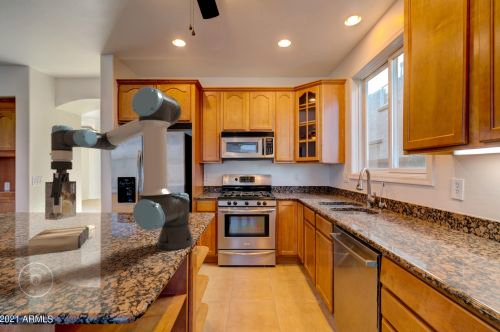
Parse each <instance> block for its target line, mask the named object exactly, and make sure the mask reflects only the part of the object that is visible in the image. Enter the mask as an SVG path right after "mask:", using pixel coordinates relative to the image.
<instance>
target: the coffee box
mask: <svg viewBox="0 0 500 332" xmlns="http://www.w3.org/2000/svg"><path fill="white" fill-rule="evenodd" d="M44 183H45V187H44V194H45V196H44V203H45V204H44V214H45V215H44V220H45V221H46V220H49V221H51V220H52V221H58V220H63V219H64V220H65V219H67V218H72V217H76V216H77V181H76V180H74V181H71V180H69V181H65V182H64V183H62V182H61V183H62V192H61V197H62V198H61V213H53V198H50V196H51V192H52V184H53V181H46V182H45V181H44Z"/></svg>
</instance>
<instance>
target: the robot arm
mask: <svg viewBox="0 0 500 332" xmlns="http://www.w3.org/2000/svg"><path fill="white" fill-rule="evenodd" d="M131 109H132V111H133V112H134V113H135V114H136V115H138V118H136V119H134V120H131V121H128V122H126V123H124V124H122V125H119V126H117V127H115V128H113V129H111V130H109V131H107V132H102V133H101V132H95V131H93V130H92V129H87V128H86V129H84V128H82V129H74V128H73V127H72V126H69V125H64V124H63V125H62V124H60V125H58V124H57V125H56V124H55V125H52V127H51V133H50V144H51V145H50V148H51V150H50V152H49V156H50V160H52V161H51V162H50V170H53V171H55V172H53V174H52V182H53V184H52V192H51V196H50V198H53V213H61V198H62V197H61V192H62V183H64V182H65V181H70V172H68V171H71V170H73V162H72V161H73V160H74V158H73V154H74V153H73V152H74V150H73V148H84V149H97V150H103V151H104V150H105V151H115V150H116V149H118V147H119V146H120V145H121V144H124V143H126V142H129V141H131V140H133V139H135V138H138V137H140V136H142V141H143V142H142V143H143V145H142V146H143V149H142V150H143V190H142V191H141V192H140V193H139V201H137V202H136V204H135V205H134V206H133V210H132V215H133V220H134V222H135V224H137V225H138V226H139V227H140V228H141V229H143V230H147V231H152V230H153V231H154V230H158V229H160V232H159V235H158V237H157V238H158V239H157V241H156V243H157V244H156V247H157V248H158V249H160V250H166V251H167V250H168V251H171V250H172V251H173V250H174V251H175V250H180V249H185V248H189V247H191V246H192V245H193V244H194V237H193V233H192V231H191V229H190V198H189V197H190V196H189V194H188V193H186V192H172V191H171V190H170V189H169V188H168V146H167V143H168V141H167V139H168V138H167V136H168V135H167V130H168V128H169V127H171V126H173V125H175V124H176V123H177V122H178V121H179V120H180V118H181V116H182V106H181V104H180V103H179V102H178V100H177V99H176V98H174V97H172V96H170V95H168V94H167V93H164V92H163V91H161V90H160V89H158V88H154V87H151V86H144V87H142V88H140V89H138V90H137V91H136V93H134V95H133V96H132V99H131ZM61 182H62V183H61Z"/></svg>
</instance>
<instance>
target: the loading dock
mask: <svg viewBox="0 0 500 332" xmlns="http://www.w3.org/2000/svg"><path fill="white" fill-rule="evenodd" d="M89 231H90V227H89V226H87V225H83V226H72V227H61V228H60V227H59V228H50V229H44V230H42V231H41V232H39V233H37V234H35V235H34V236H31V238H29V239H28V243H27V245H28V247H27V248H28V249H27V253H28V254H27V255H28V256H33V255H34V256H35V255H40V254H41V255H42V254H50V253H60V252H66V251H67V252H68V251H74V250H76V251H77V250H79V249H81V248H82V247H83V246H84V244H85V243H86V241H87V240H88V239H89V234H90V233H89Z"/></svg>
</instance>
